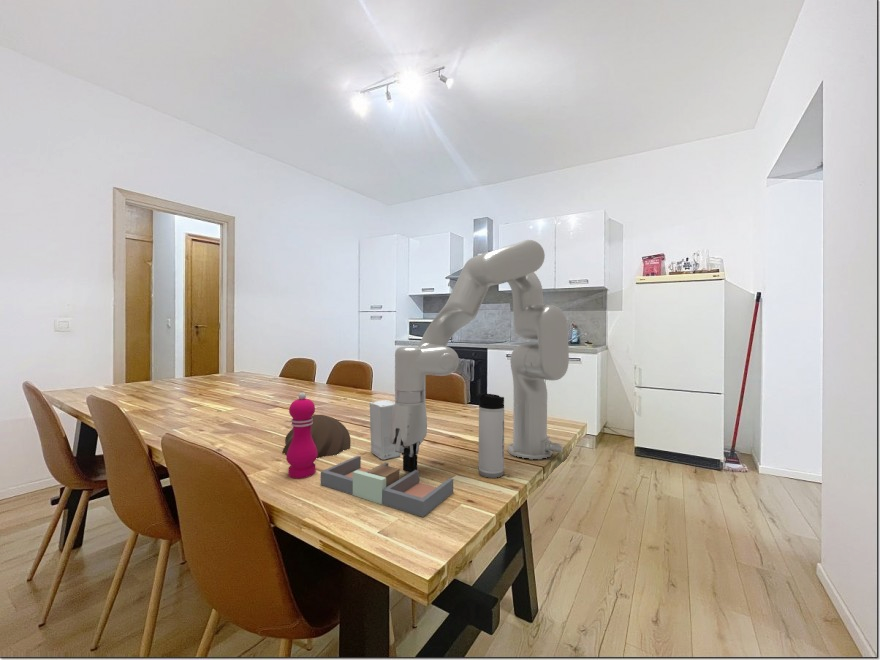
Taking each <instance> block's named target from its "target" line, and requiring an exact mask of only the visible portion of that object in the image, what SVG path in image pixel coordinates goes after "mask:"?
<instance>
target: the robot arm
mask: <svg viewBox="0 0 880 660" xmlns="http://www.w3.org/2000/svg"><path fill="white" fill-rule="evenodd" d="M545 255H546V254H545V249H544V248H543V246H542V245H541V244H540V243H539V242H538V241H536V240H532V239H526V240H525V239H524V240H523V241H519V242H516V243H513V244H510V245H507V246H504V247H502V248H499V249H495V250H491V251H488V252H484V253H481V254H478V255H475V256H473V257H471V258H469V259H468V260H467V261H466V262H465V263H464V266H463V267H462V270H461V272H460V273H459V276H458V278H457V280H456V282H455V284H454V286H453V288H452V290H451V293H450V294H449V298H448V300H447V301H446V303H445V305H444V306H443V307H442V308H441V309H440V310H439V312H438V313H437V314H436V316H435V317H434V318H433V320H432V321H431V322H430V324H429V325H428V326H427V328H426V330H425V331H424V333H423V336H422V337H421V340H420V341H419V344H418V345H417V346H415V345H413V346H412V345H411V346H409V345H407V346H399V347H397V348H396V350H395V352H394V403H395V404H394V405H393V410H392V417H391V429H390V442H391V444H393V445H394V444H396V449H395V452H398V453H400V454H401V456H402V470H403V472H406V473H411V472H413V471H414V470H418V454H419V451H420V445H421V444H423V442H424V439H425V438H426V437H427V433H428V432H427V431H428V417H427V415H428V414H427V406H426V383H427V382H426V381H427V380H426V378H427V376H439V377H440V376H441V377H445V376H448V375H451V374H453V373H454V372H455V371H456V370H457V368H458V366H459V363H460V358H459V356H458V353H457V352H456V351H455V350H454V348H451V347H450V346H448V345H447V344H448V343H449V342H450V340H451V338H452V337H453V336H454V335H455V334H456V333H457V332H458V331H459V330H460V329H462V328H464V327H465V326H467V325H468V324H470V323H471V322H472V321H474V319H475V318H476V316H477V314H478V312H479V310H480V308H481V305H482V303H483V301H484V299H485V297H486V295H487V293H488V290H489V288H490V287H492V286H496V285H502V284H506V283H507V284H508V285H509V288H510V289H511V294H512V295H511V296H512V306H513V308H512V309H513V310H512V311H513V326H514V327H513V328H514V331H515V334H516V335H517V336H519V337H520V338H522V339H528V340H537V342H538V343H529V342H527V343H522V344H519V345H518V346H516V347H514V349H513V351H512V353H511V355H510V370H511V373H512V384H513V407H512V408H513V409H512V410H513V414H512V415H513V416H512V417H513V422H512V423H513V424H512V427H513V428H512V429H513V430H512V431H513V432H512V436H513V437H512V438H513V439H512V440H513V441H512V443H510V444H509V445H507V452H508V453H509V454H510V455H511V456H513V457H516V456H517V457H516V458H519V457H522V458H521V459H524V458H529V459H528V460H533V459H538V460H543V459H542V458H546V459H548V458H547V457H549V458H551V457H552V456H553V452H555V453H560V454H562V452H563V445H561V443H559V442H558V443H557V442H552V441H550V438H551V437H550V436H548V389H547V385H546V381H558V380H560V379H562V378H563V377H564V376H566V373H567V372H568V368H569V364H570V363H569V359H570V355H569V353H570V352H569V351H570V349H569V348H570V347H569V329H568V328H569V327H568V326H569V324H568V320H567V317H566V314H565V313H564V312H563V310H562V309H561V308H560V307H558V306H556V305H553V304H544V293H543V292H544V291H543V285H542V282H541V281H540V279H539V277H538V276H537V274H536V273H535V272H537V271H538V270H539V269H540V268H541V267H542V266H543V264H544V262H545ZM545 380H546V381H545ZM551 455H552V456H551Z"/></svg>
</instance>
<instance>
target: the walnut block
mask: <svg viewBox="0 0 880 660" xmlns="http://www.w3.org/2000/svg"><path fill="white" fill-rule="evenodd" d="M379 465H380V466H379ZM379 465H377V466H378V467H377V466H375V467H376V468H375V467H373V468H374V469H373V468H372V470H371V469H370V471H368V473H371V474H374V475H378V476H382V477H385V478H386V487H388V486H389V485H391V484H393V483H394V482H396V481H398V480H399V479H400V468H398V467H393V466H389V465H388V466H386V465H381V464H379Z"/></svg>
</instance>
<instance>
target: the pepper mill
mask: <svg viewBox="0 0 880 660" xmlns="http://www.w3.org/2000/svg"><path fill="white" fill-rule="evenodd" d="M297 396H298V399H295V400H294V401H292V402H291V403H290V405H289V408H288V413H289V416H290V417H291V418H292V419H291V424H290V425H291V426H292V429H293V430H294V432H293V439H292V442H291V444H290V446H289V448H288V451H287V454H286V457H285V459H286V462H287V464H289V465H290V466H289V467H288V468H287V469H288V471H287V472H288V477H289V478H291V479H304V477H305V478H309V477H311V476H313V475H315V474H316V463H314V462H316V461H317V459H318V458H317V456H318V454H317V448H316V445H315V443H314V441H313V439H312V436H311V425H312V424H313V422H312V421H313V418H312V416H313V415H315V412H316V406H315V403H314V401H312V400H311V399H308V398H307V395H306V392H300V393H299V394H298V395H297ZM316 458H317V459H316ZM308 476H309V477H308Z"/></svg>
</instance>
